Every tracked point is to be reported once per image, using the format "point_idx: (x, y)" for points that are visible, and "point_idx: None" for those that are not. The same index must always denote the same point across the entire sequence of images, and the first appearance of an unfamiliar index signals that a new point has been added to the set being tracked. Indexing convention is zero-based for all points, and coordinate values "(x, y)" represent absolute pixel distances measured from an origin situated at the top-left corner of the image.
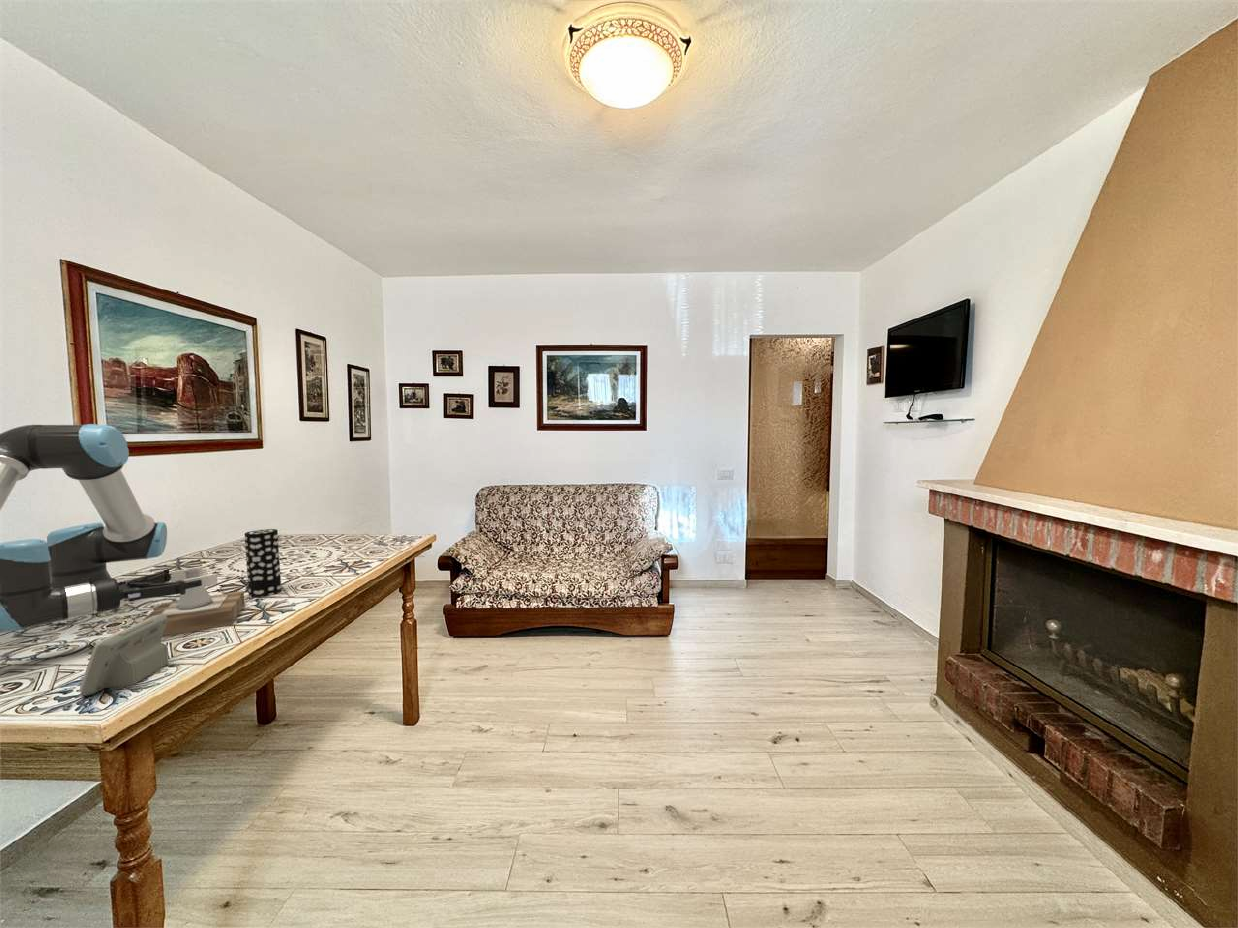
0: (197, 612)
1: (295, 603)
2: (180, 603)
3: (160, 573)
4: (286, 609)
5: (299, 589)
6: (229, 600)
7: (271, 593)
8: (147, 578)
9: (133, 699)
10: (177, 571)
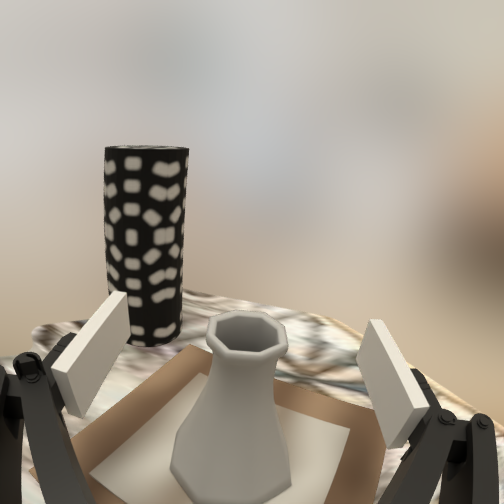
0: (336, 479)
1: (311, 338)
2: (241, 495)
3: (3, 387)
4: (344, 357)
5: (204, 301)
6: None
7: (181, 325)
8: (50, 496)
9: None
10: (83, 354)
